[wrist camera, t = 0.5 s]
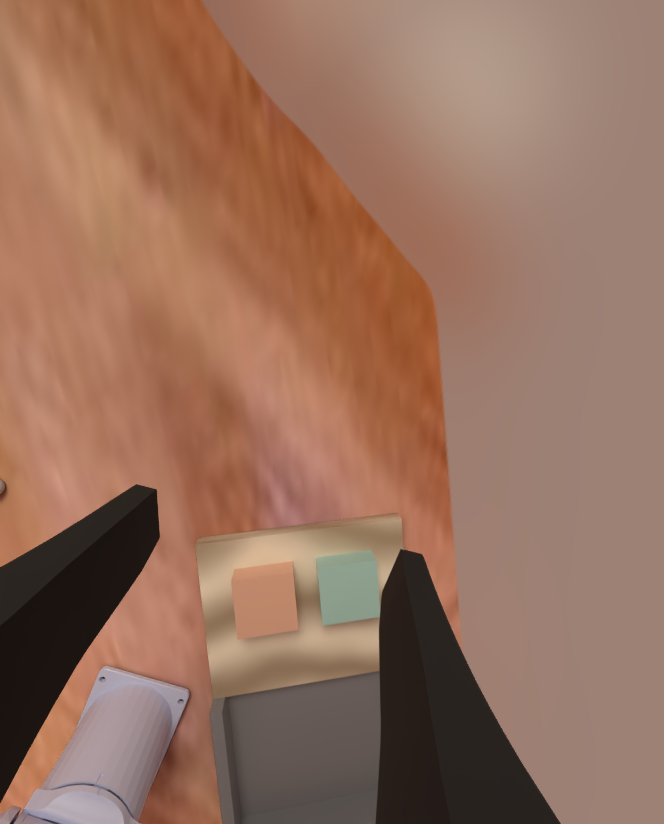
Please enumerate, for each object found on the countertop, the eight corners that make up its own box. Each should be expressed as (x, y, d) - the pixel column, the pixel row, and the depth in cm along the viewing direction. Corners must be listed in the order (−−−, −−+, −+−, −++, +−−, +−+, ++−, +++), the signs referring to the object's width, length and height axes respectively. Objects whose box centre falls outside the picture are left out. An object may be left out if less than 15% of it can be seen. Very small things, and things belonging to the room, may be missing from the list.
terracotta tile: (297, 615, 33) (298, 630, 31) (240, 624, 33) (237, 639, 31) (292, 561, 33) (293, 572, 31) (234, 569, 32) (231, 580, 30)
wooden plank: (406, 653, 36) (411, 665, 35) (216, 685, 34) (213, 699, 33) (396, 513, 35) (401, 518, 34) (199, 537, 33) (195, 544, 32)
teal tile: (375, 603, 34) (380, 616, 32) (320, 611, 33) (322, 625, 31) (371, 549, 33) (376, 560, 32) (315, 557, 33) (317, 568, 31)
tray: (416, 786, 37) (427, 820, 34) (232, 824, 35) (227, 864, 32) (406, 653, 36) (417, 677, 33) (216, 685, 34) (209, 714, 31)
